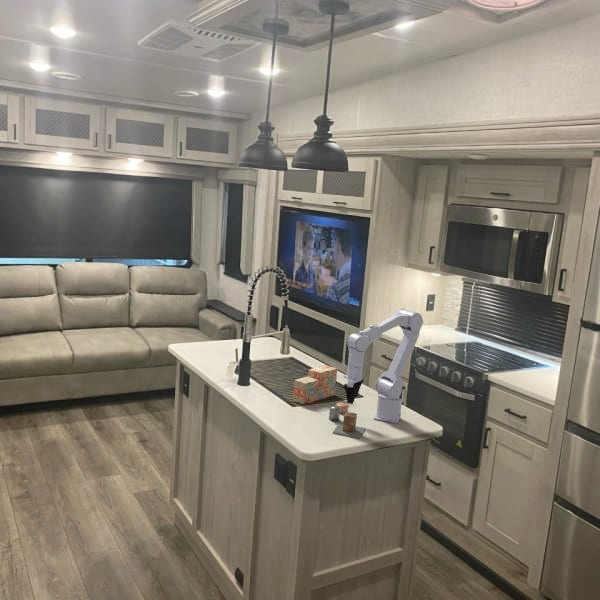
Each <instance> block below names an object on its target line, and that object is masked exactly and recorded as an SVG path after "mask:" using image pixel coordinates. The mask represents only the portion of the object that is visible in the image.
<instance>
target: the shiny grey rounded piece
mask: <svg viewBox="0 0 600 600" xmlns="http://www.w3.org/2000/svg"><path fill="white" fill-rule="evenodd" d="M328 414H329V416H328V420H329V421H331V422H334V423H335V422H336V423H337V422H339V421H340V417H341V416H340V415H341V414H340V407H339V406H336V405H329V413H328Z"/></svg>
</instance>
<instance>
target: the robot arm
mask: <svg viewBox="0 0 600 600" xmlns="http://www.w3.org/2000/svg"><path fill="white" fill-rule="evenodd" d="M423 325H424V320H423V316H422V314H421V313H420V312H416V311H412V310H409V309H406V308H399V309H398V310H396V311H394V313H393V315H391V316H390V317H388V318H386V319H384V321H382V322H381V323H379V324H377V325H376V324H369V325H368V327H366V328H365V329H363V330H360V331H359V332H358V333H355V332H354V333H352V334H349V336H348V338H347V340H346V345H347V347H348V361H347V371H346V374H344V375H343V378H345V379H346V380H347V383H344V384H343V389H344V391H345V395H346V404H351V405H353V404H354V402H355V398H358V396H359V391H360V389H361V387H362V384H363V382H364V381H365V379H364V378H363V373H364V371H363V369H364V361H365V360H364V359H365V351H366V350H367V349H368V348H369V346H370V345H371V344H372V343H374V342H376V341H377V340H379V339H381V338H382V336H383V333H385V332H388V331H390V330H392V329H394V328H396V327H398V326H399V328H400V329H401V330H402V332H403V336H402V339H401V340H400V343H399V345H398V348H397V349H396V352H395V353H394V356H393V359H392V361H391V363H390V365H389V367H388V370H386V371H385V372H382V373H381V375H380V377H378V379H377V380H376V382H375V384H374V385H375V390H376V391H377V395H378V398H377V406H376V413H375V415H374V417H373V420H377V421H383V422H387V423H392V424H393V423H394V424H398V423H399V421H400V419H401V415H402V406H403V405H402V402H403V400H402V398H399V397H400V396H401V394H402V390H403V385H404V379H402V375H403V372H404V370H405V368H406V366H407V364H408V361H409V359H410V357H411V355H412V352H413V350H414V349H415V348H414V347H415V346H416V344H417V341H418V339H419V337H420V332H421V329H422V326H423Z"/></svg>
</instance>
